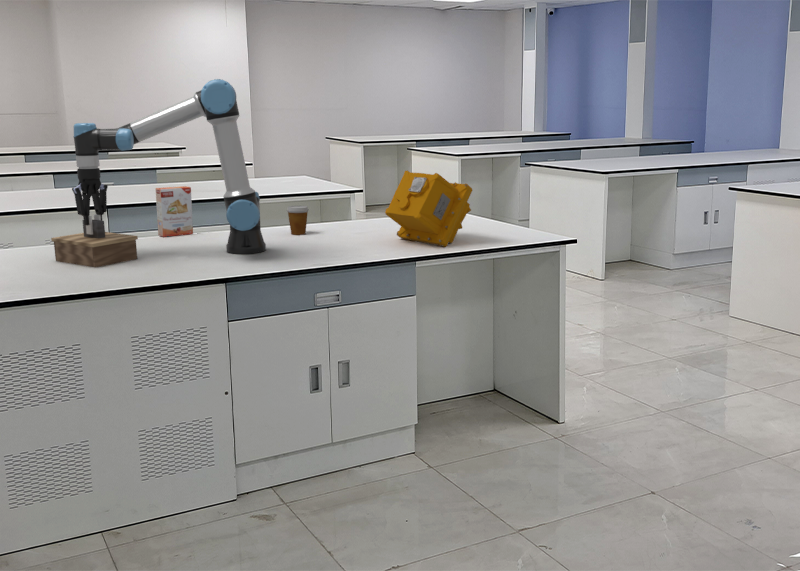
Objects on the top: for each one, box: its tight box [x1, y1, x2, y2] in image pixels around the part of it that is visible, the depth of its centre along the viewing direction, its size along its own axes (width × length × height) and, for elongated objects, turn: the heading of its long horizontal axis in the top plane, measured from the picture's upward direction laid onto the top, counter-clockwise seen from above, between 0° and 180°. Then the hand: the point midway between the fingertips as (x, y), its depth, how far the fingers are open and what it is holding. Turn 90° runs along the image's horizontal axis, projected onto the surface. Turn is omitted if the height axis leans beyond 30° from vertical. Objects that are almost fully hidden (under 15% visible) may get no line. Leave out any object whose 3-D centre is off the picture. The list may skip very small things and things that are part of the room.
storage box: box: [53, 240, 138, 268], centre depth 281 cm, size 22×18×8 cm
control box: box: [384, 170, 473, 248], centre depth 319 cm, size 27×27×30 cm
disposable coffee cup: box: [286, 205, 309, 236], centre depth 341 cm, size 10×10×12 cm
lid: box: [50, 218, 139, 247], centre depth 280 cm, size 23×19×8 cm
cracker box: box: [155, 185, 194, 238], centre depth 338 cm, size 14×6×21 cm, turn 130°
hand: (94, 233), depth 280 cm, fingers closed on lid, 3 cm apart
